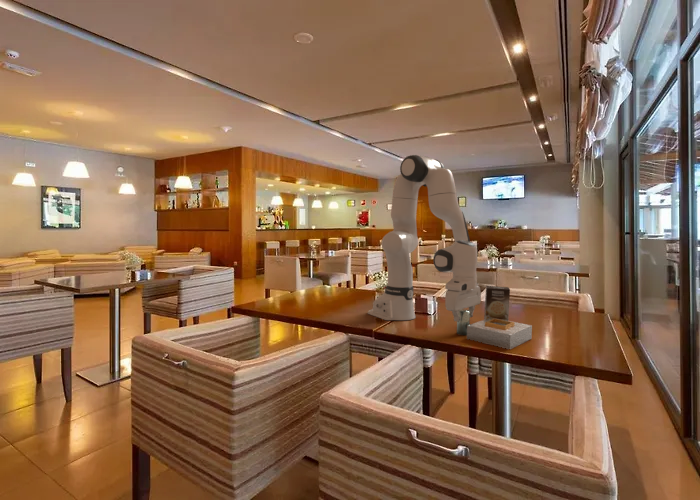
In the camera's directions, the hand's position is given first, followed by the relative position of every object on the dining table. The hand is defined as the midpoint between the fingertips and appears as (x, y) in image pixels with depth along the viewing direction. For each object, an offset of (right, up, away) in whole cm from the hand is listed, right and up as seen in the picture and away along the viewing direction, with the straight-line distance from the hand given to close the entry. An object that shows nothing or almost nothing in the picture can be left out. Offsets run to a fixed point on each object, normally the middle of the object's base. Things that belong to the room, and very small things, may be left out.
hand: (463, 319), depth 147 cm
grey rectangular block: (+11, -6, -6) cm, 14 cm away
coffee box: (+17, -5, +13) cm, 22 cm away
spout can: (-1, -6, +1) cm, 6 cm away
